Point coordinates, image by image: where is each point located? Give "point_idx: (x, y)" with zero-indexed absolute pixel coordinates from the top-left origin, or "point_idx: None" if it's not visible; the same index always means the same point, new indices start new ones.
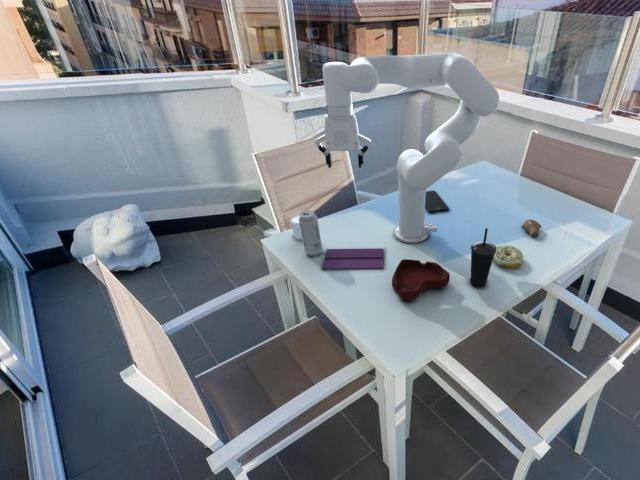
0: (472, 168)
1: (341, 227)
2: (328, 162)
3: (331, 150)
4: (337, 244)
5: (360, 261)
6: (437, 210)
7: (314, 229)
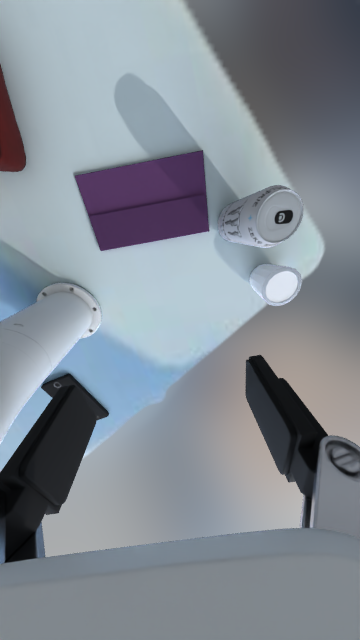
0: None
1: (199, 314)
2: (275, 382)
3: (321, 541)
4: (193, 258)
5: (129, 195)
6: (56, 380)
7: (243, 202)
